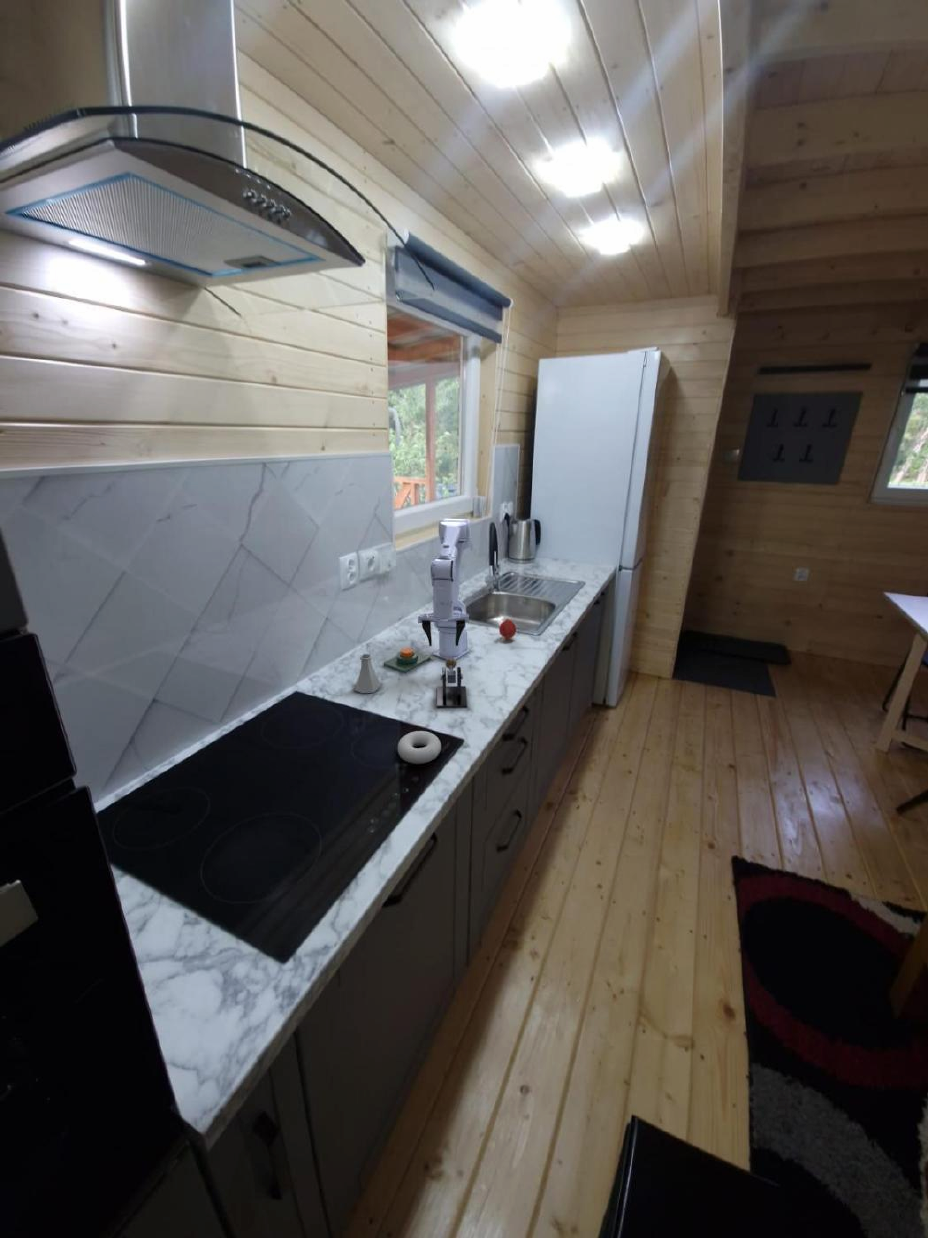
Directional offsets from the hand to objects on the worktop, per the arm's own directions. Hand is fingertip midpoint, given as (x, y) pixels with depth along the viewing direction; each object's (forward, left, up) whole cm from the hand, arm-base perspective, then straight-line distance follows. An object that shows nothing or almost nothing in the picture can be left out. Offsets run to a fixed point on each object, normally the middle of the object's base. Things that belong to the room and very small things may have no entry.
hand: (443, 644), depth 145 cm
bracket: (+10, +10, -10) cm, 18 cm away
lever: (+7, +8, -4) cm, 12 cm away
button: (+1, -14, -7) cm, 15 cm away
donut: (+33, +18, -10) cm, 39 cm away
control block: (+1, -14, -10) cm, 17 cm away
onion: (-33, +2, -10) cm, 34 cm away
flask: (+19, -13, -10) cm, 25 cm away
